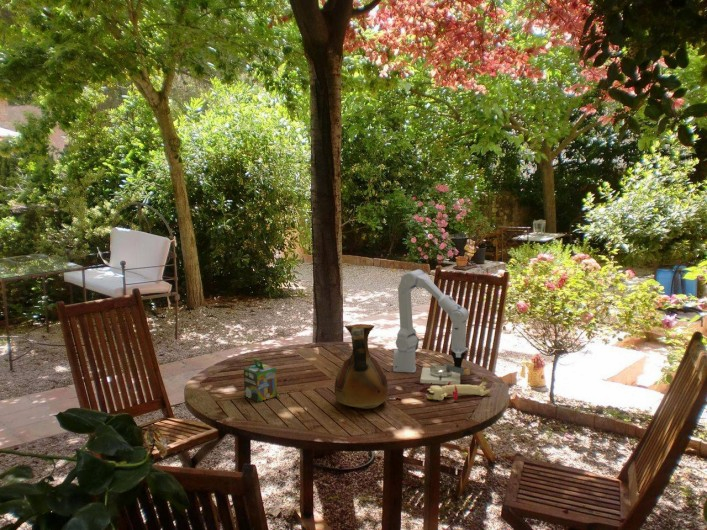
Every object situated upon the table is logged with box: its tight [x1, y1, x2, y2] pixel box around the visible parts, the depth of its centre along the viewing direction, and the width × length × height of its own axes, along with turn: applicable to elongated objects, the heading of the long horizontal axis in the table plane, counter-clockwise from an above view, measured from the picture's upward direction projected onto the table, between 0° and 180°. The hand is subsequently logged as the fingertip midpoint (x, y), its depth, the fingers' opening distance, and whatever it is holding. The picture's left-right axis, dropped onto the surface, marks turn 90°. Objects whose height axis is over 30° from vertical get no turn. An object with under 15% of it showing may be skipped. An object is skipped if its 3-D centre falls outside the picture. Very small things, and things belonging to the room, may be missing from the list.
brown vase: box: [334, 323, 389, 409], centre depth 221 cm, size 20×20×30 cm
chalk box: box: [243, 358, 278, 403], centre depth 229 cm, size 9×9×15 cm
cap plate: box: [419, 366, 461, 385], centre depth 253 cm, size 16×16×2 cm
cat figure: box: [424, 375, 491, 401], centre depth 230 cm, size 10×9×25 cm
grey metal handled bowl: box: [429, 363, 471, 377], centre depth 250 cm, size 18×9×5 cm, turn 51°
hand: (457, 369), depth 250 cm, fingers closed, pressing on grey metal handled bowl
